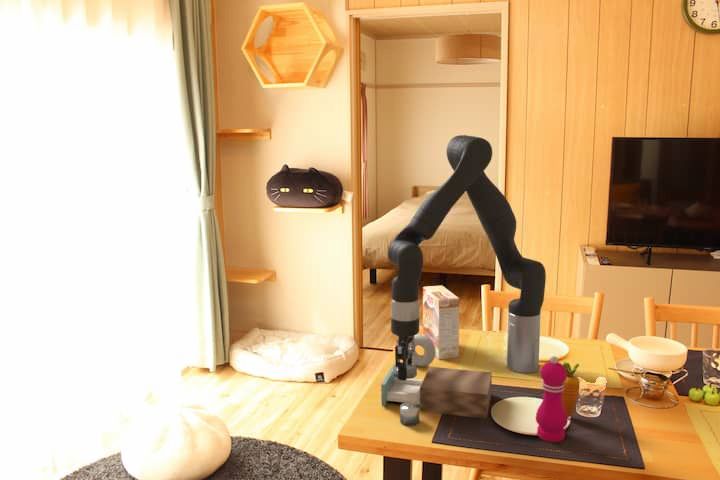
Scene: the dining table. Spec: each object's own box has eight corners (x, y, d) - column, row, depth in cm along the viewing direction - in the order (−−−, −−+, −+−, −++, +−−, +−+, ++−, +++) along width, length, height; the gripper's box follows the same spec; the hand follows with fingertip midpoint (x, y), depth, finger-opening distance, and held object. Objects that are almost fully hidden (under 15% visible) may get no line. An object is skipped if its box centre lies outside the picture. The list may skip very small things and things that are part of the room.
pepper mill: (567, 430, 157) (571, 352, 153) (566, 445, 150) (570, 364, 146) (536, 426, 159) (539, 349, 155) (534, 440, 152) (537, 360, 148)
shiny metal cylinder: (420, 418, 164) (420, 403, 164) (417, 427, 160) (417, 412, 159) (402, 415, 166) (402, 401, 165) (398, 424, 161) (398, 409, 160)
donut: (437, 366, 196) (437, 335, 194) (433, 370, 193) (433, 339, 191) (407, 361, 201) (407, 330, 199) (402, 365, 198) (402, 334, 196)
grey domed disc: (418, 370, 177) (418, 364, 176) (414, 380, 171) (414, 373, 170) (395, 368, 178) (395, 362, 178) (390, 377, 172) (390, 371, 172)
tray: (453, 390, 179) (453, 369, 178) (446, 412, 166) (446, 390, 165) (393, 384, 184) (392, 364, 183) (381, 405, 171) (381, 384, 170)
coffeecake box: (422, 343, 215) (422, 286, 211) (442, 341, 217) (442, 284, 213) (438, 360, 201) (438, 299, 197) (459, 357, 203) (460, 297, 199)
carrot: (578, 415, 164) (581, 359, 161) (576, 424, 160) (579, 367, 157) (558, 411, 166) (561, 356, 163) (555, 420, 162) (558, 364, 159)
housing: (491, 394, 177) (491, 372, 175) (486, 418, 164) (487, 394, 162) (429, 388, 181) (429, 366, 180) (420, 411, 168) (420, 387, 167)
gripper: (413, 325, 163) (413, 387, 167) (424, 308, 177) (423, 365, 180) (384, 323, 165) (385, 384, 169) (397, 306, 179) (397, 363, 182)
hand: (405, 374), depth 175 cm, fingers closed on grey domed disc, 6 cm apart
